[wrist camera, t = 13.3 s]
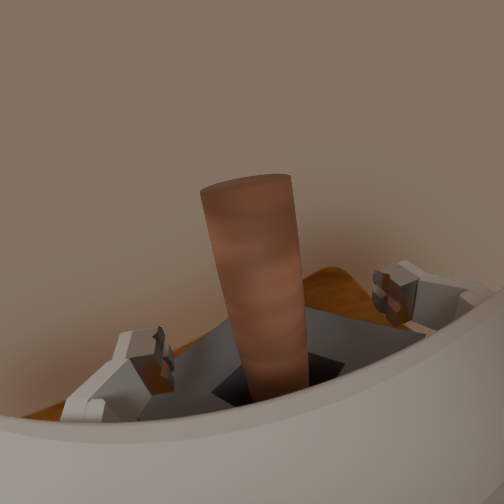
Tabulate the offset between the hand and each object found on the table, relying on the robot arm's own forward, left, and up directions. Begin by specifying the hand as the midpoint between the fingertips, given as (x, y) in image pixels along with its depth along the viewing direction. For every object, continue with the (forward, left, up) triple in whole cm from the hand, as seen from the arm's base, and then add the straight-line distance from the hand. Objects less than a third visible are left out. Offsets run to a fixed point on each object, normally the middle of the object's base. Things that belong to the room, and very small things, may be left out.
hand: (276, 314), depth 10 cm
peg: (-1, +1, -9) cm, 10 cm away
